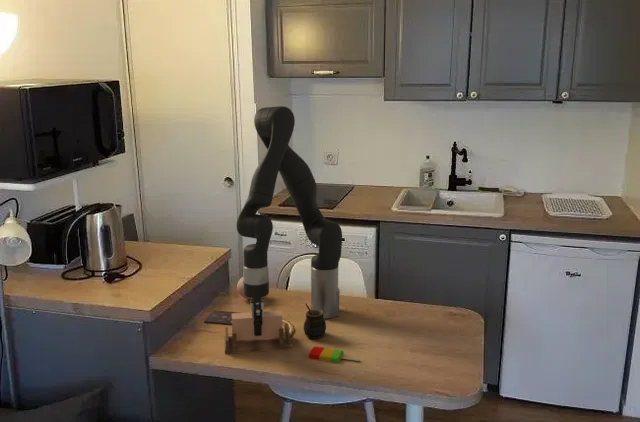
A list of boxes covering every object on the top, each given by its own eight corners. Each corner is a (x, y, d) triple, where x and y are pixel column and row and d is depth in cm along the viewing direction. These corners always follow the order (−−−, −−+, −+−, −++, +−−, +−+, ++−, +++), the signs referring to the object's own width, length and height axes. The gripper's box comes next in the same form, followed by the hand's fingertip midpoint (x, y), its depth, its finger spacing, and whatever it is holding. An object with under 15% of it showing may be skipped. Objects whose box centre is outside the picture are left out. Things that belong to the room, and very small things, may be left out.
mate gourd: (318, 343, 183) (318, 313, 180) (298, 337, 187) (297, 308, 184) (330, 334, 189) (330, 305, 186) (310, 328, 193) (310, 300, 190)
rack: (288, 335, 188) (288, 317, 186) (291, 348, 179) (291, 330, 178) (224, 339, 185) (223, 321, 183) (224, 353, 176) (224, 334, 175)
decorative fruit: (241, 293, 221) (241, 268, 218) (263, 295, 219) (262, 269, 217) (234, 303, 212) (233, 277, 209) (256, 305, 210) (255, 278, 208)
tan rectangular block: (281, 331, 185) (281, 310, 183) (282, 337, 181) (282, 315, 179) (232, 334, 182) (231, 313, 180) (232, 340, 178) (232, 319, 177)
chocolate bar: (213, 310, 205) (264, 314, 202) (213, 312, 205) (264, 317, 202) (203, 321, 197) (256, 326, 193) (204, 323, 197) (256, 328, 194)
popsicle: (313, 350, 179) (313, 345, 179) (362, 358, 175) (362, 352, 174) (307, 359, 174) (307, 353, 174) (357, 367, 170) (357, 361, 169)
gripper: (270, 287, 171) (271, 341, 175) (266, 270, 184) (268, 321, 189) (244, 289, 169) (246, 343, 174) (242, 271, 183) (244, 322, 187)
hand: (257, 331), depth 181 cm, fingers closed on tan rectangular block, 4 cm apart
